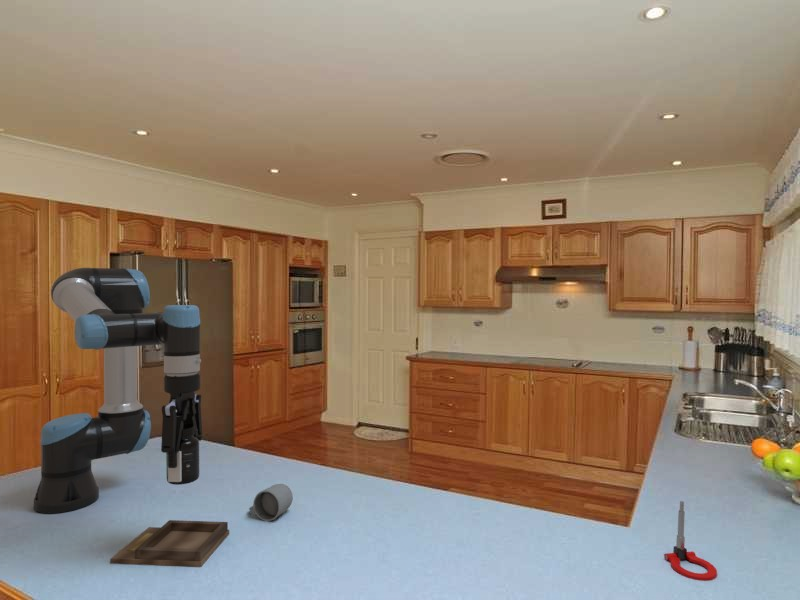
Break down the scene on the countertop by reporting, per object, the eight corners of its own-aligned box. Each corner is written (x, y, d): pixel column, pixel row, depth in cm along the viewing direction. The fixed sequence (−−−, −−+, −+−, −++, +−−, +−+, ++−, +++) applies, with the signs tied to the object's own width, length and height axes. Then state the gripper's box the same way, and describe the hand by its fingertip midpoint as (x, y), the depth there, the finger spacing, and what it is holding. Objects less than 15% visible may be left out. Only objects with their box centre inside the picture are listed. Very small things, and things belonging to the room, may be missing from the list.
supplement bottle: (167, 487, 113) (167, 432, 113) (165, 477, 119) (165, 425, 119) (201, 481, 116) (200, 428, 116) (197, 472, 123) (197, 421, 122)
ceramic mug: (295, 510, 139) (294, 481, 139) (279, 523, 131) (278, 492, 131) (259, 506, 142) (259, 478, 142) (242, 518, 134) (241, 488, 134)
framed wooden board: (110, 563, 112) (110, 549, 112) (149, 531, 127) (148, 518, 127) (201, 566, 110) (201, 552, 110) (229, 534, 125) (229, 521, 125)
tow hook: (726, 581, 106) (695, 556, 115) (729, 519, 105) (697, 499, 114) (688, 584, 105) (659, 559, 114) (690, 522, 104) (661, 501, 113)
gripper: (176, 381, 108) (177, 492, 108) (217, 367, 127) (217, 461, 128) (141, 380, 108) (142, 491, 108) (187, 367, 128) (188, 460, 128)
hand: (183, 475), depth 118 cm, fingers closed on supplement bottle, 7 cm apart
